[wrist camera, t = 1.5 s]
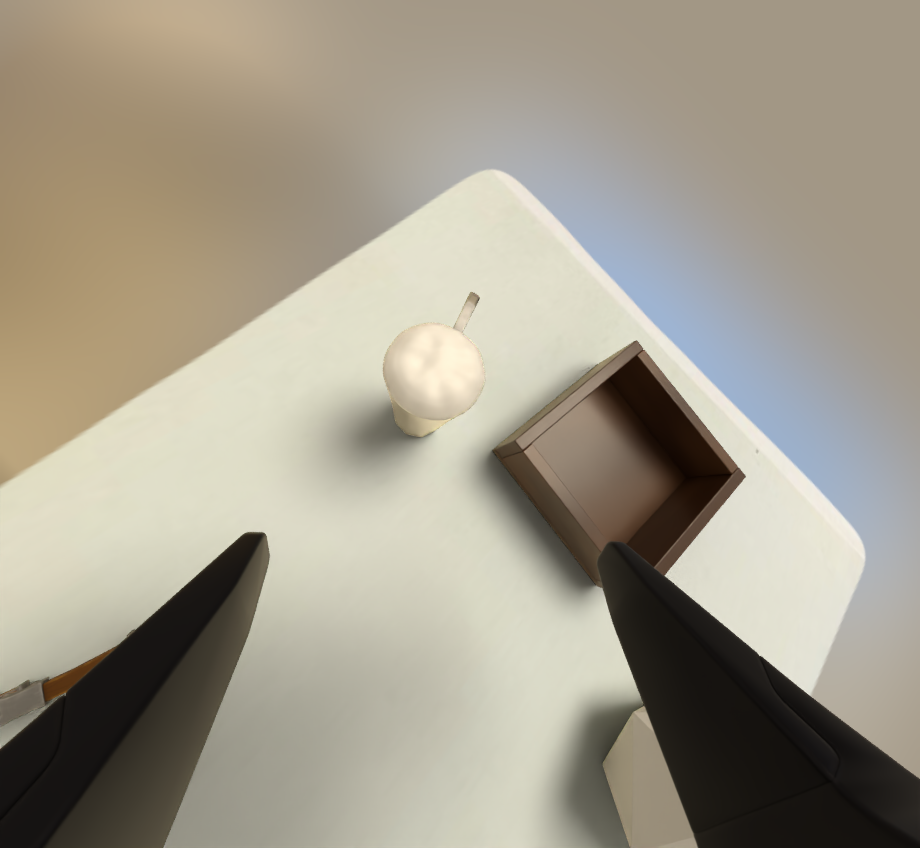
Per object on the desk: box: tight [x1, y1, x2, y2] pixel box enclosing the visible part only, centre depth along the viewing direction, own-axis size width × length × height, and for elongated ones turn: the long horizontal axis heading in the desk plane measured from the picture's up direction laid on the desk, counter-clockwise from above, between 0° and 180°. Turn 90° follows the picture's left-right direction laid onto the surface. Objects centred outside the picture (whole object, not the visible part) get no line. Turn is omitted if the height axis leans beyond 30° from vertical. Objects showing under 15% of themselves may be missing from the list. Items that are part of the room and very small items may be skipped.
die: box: [602, 706, 698, 848], centre depth 18 cm, size 8×9×10 cm
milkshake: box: [383, 292, 485, 437], centre depth 18 cm, size 4×5×10 cm
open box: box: [493, 341, 746, 588], centre depth 23 cm, size 12×12×4 cm
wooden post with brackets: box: [0, 630, 135, 727], centre depth 15 cm, size 2×8×4 cm, turn 110°
